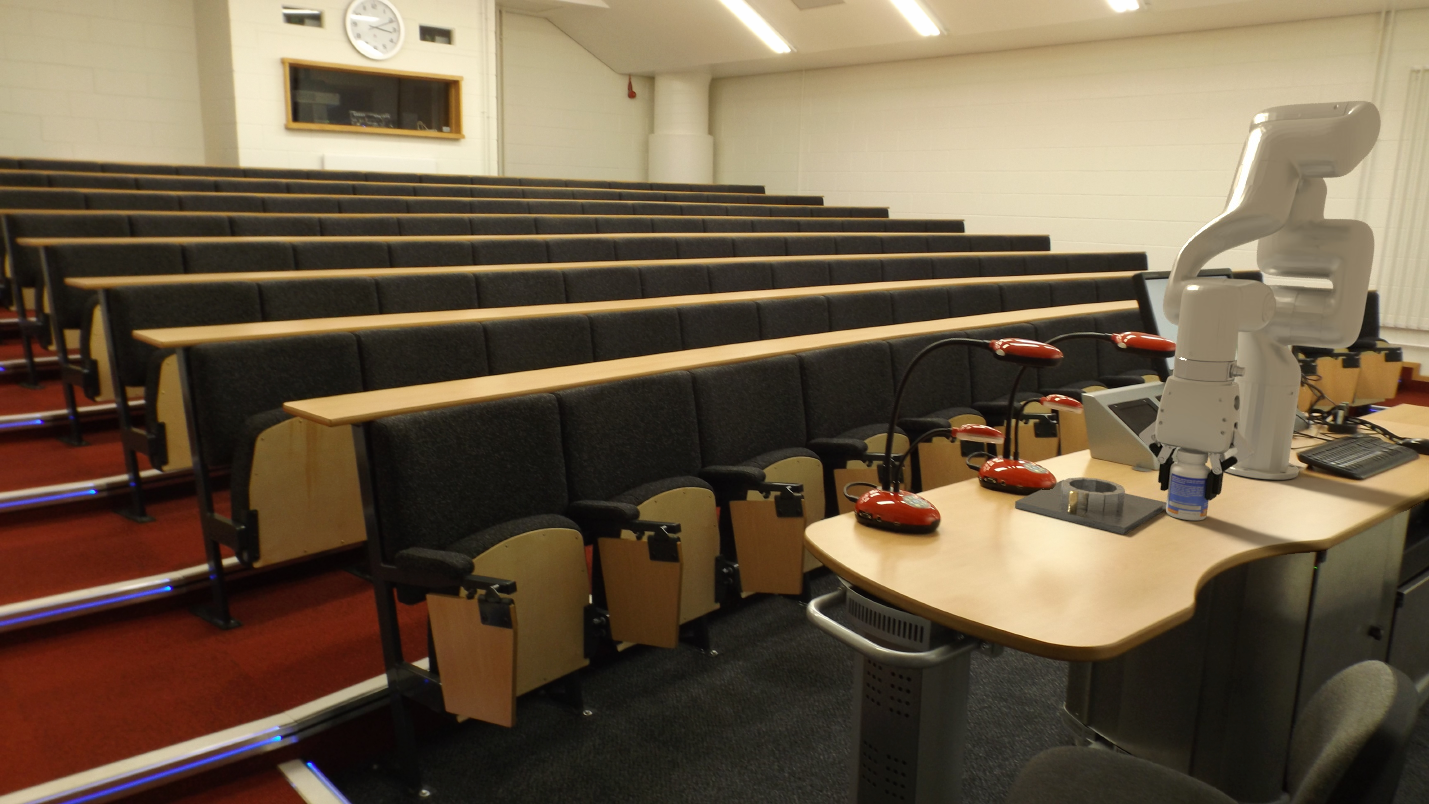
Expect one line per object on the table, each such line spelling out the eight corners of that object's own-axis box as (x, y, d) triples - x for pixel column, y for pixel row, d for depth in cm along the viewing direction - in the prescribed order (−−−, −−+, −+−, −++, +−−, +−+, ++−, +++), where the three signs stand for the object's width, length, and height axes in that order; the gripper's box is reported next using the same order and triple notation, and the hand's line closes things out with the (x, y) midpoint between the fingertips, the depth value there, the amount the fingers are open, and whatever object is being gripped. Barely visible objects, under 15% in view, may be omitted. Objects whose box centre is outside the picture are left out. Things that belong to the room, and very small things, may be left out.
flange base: (1062, 485, 147) (1064, 461, 147) (1166, 508, 136) (1169, 483, 136) (1014, 507, 136) (1017, 482, 136) (1123, 534, 125) (1126, 507, 124)
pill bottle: (1211, 522, 130) (1220, 457, 128) (1170, 519, 132) (1178, 454, 129) (1199, 510, 136) (1207, 447, 134) (1160, 508, 137) (1168, 445, 135)
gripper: (1279, 375, 126) (1261, 501, 130) (1150, 360, 138) (1137, 476, 141) (1263, 382, 121) (1245, 513, 124) (1130, 366, 132) (1118, 486, 136)
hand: (1188, 492), depth 133 cm, fingers closed on pill bottle, 5 cm apart
